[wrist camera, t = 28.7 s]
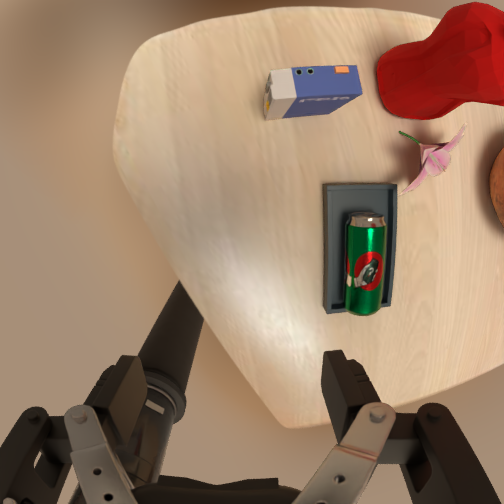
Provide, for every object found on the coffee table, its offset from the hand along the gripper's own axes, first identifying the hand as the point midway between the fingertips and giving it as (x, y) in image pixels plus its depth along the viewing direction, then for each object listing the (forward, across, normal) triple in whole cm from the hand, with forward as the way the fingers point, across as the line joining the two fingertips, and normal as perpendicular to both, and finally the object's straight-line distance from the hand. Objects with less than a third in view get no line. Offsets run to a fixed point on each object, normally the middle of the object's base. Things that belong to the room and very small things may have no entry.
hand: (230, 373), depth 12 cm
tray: (+26, -15, +2) cm, 30 cm away
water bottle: (+26, -23, -20) cm, 40 cm away
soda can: (+23, -15, +9) cm, 29 cm away
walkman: (+26, -7, -16) cm, 31 cm away
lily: (+26, -23, -10) cm, 36 cm away
